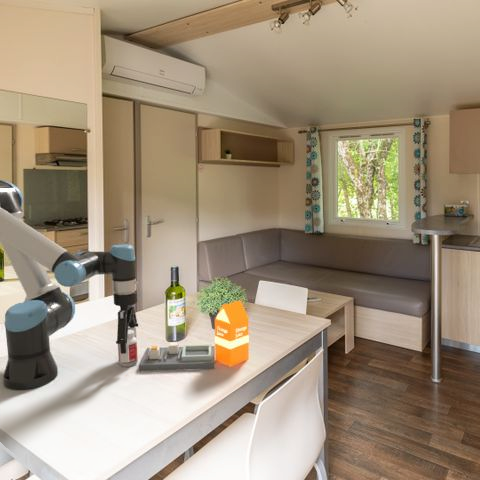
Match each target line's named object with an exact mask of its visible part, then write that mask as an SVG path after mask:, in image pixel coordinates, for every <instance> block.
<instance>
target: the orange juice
mask: <svg viewBox="0 0 480 480" xmlns="http://www.w3.org/2000/svg"><path fill="white" fill-rule="evenodd" d="M244 307H245V306H244V305H243V302H242V300H241V299H240V300H236V301H233V302H229V303H225V304H223V305H222V306H221V308H220V309H219V311H218V312H217V315H216V316H215V318H214V346H215V361H217V362H220V364H221V363H222V364H223V365H226V366H229V367H232V366H235V365H237V364H239V363H240V364H241V363H242V362H245V361H246V360H248V359H250V358H249V355H250V354H249V351H250V348H249V346H250V345H249V344H250V343H249V342H250V339H249V337H250V336H249V335H250V333H249V316H248V314H247V312H246V309H245V308H244Z"/></svg>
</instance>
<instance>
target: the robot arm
mask: <svg viewBox="0 0 480 480" xmlns="http://www.w3.org/2000/svg"><path fill="white" fill-rule="evenodd" d="M23 202H24V197H23V194H22V191H21V190H20V189H19V187H17V185H15V184H13V183H12V182H10V181H6V180H1V179H0V244H1V246H2V248H3V250H4V252H5V255H6V256H7V257H8V260H9V262H10V264H11V266H12V268H13V270H14V272H15V274H16V276H17V278H18V280H19V282H20V284H21V287H22V288H23V290H24V293H25V294H26V295H25V298H24V300H23V301H22V302H19V303H15V304H13V305H12V306H10V307H8V309H7V310H6V312H5V314H4V327H5V335H6V337H5V338H6V345H7V346H6V347H7V349H6V350H7V357H8V358H7V362H6V366H5V369H4V373H3V386H4V387H5V388H7V389H9V390H16V391H17V390H30V389H35V388H39V387H42V386H45V385H46V384H50V383H51V382H52V381H53V380H55V379H56V378H57V377H58V374H59V371H58V370H59V369H58V366H57V363H56V361H55V359H54V356H53V354H52V352H51V345H50V344H51V343H50V336H52V335H53V334H55V333H56V332H58V331H59V330H61V329H63V328H65V327H66V326H67V325H68V324H69V323H71V321H72V320H73V319H74V317H75V313H76V304H75V301H74V299H73V298H72V297H71V296H70V295H69V294H67V293H66V292H63V291H62V289H61V287H60V286H59V285H61V286H63V287H67V288H68V287H69V288H70V287H73V286H78V285H79V284H82V283H83V282H85V281H86V280H88V279H90V278H92V277H94V276H97V275H111V278H112V279H111V281H112V292H113V304H114V305H115V306H117V307H120V309H119V311H118V312H117V335H116V337H117V338H116V341H115V344H116V345H118V344H119V352H120V363H124V362H129V349H128V342H127V336H128V330H133V331H134V337H135V338H136V339H138V337H137V328H138V327H139V323H138V319H137V315H136V309H135V305H136V304H137V303H138V292H137V288H138V287H137V285H139V281H137V275H136V274H137V273H136V271H137V269H136V256H135V248H134V246H133V245H131V244H127V243H126V244H125V243H124V244H114V245H111V247H110V250H109V251H90V250H89V251H88V250H87V251H79V252H77V253H76V254H75V255H74V254H73V253H71V252H70V251H68V250H67V249H65V248H64V247H63V246H60V245H59V244H58V243H56V242H55V241H53V240H51V239H50V238H48V237H47V236H45V235H44V234H42V233H41V232H39V231H38V230H37V229H34V228H33V227H32V226H30V225H29V224H27V223H25V222H24V221H23V220H22V218H23V216H24V211H23V209H22V208H23V207H22V206H23ZM46 269H48V270H49V271H50V272H52V273H53V274H54V278H55V280H56V281H57V283H58V284H59V285H57V284H56V283H55V284H54V282H53V281H52V280H51V277H50V276H49V274H48V271H47V270H46ZM121 339H123V340H121Z"/></svg>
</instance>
